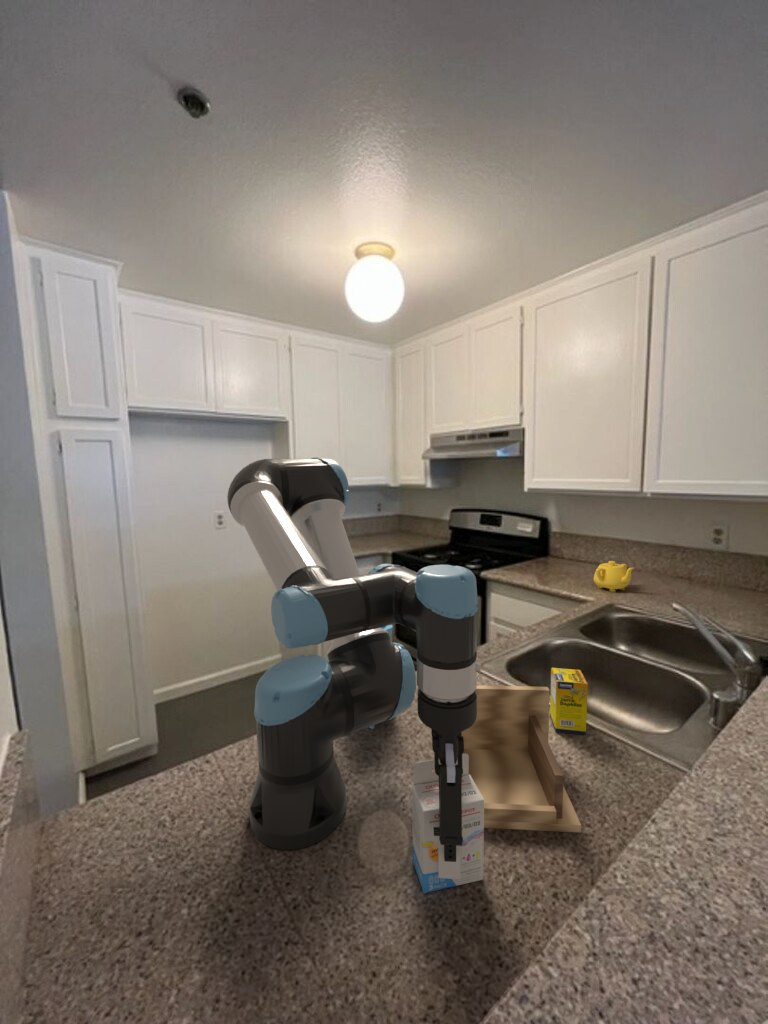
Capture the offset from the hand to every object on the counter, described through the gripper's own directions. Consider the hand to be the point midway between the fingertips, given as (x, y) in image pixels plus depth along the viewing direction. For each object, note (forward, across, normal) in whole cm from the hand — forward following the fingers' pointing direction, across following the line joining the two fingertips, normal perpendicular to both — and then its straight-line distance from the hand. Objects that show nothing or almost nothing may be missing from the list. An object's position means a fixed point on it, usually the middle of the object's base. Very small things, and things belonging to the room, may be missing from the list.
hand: (447, 850), depth 56 cm
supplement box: (+3, +33, -27) cm, 43 cm away
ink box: (+3, 0, 0) cm, 3 cm away
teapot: (+3, +128, -79) cm, 151 cm away
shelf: (+3, +16, -10) cm, 19 cm away
